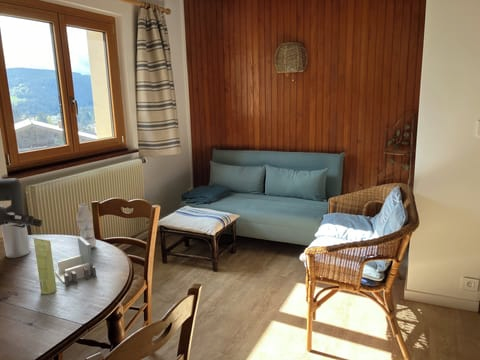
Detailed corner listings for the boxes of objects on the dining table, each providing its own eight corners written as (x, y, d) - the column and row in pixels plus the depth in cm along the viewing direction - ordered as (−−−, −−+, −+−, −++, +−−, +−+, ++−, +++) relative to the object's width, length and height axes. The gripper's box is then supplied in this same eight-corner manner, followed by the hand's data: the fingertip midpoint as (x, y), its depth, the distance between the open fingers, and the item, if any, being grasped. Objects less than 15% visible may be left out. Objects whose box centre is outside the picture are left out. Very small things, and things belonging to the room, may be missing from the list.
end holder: (55, 273, 151) (50, 243, 148) (84, 264, 158) (80, 236, 155) (63, 283, 143) (58, 252, 140) (94, 273, 149) (90, 244, 146)
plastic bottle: (91, 251, 170) (85, 207, 165) (77, 250, 171) (71, 206, 166) (99, 245, 176) (94, 202, 171) (85, 244, 177) (80, 202, 173)
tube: (59, 286, 141) (51, 235, 136) (58, 292, 136) (50, 240, 131) (41, 289, 139) (33, 237, 134) (40, 296, 134) (31, 243, 130)
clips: (65, 284, 142) (63, 274, 141) (94, 274, 149) (93, 265, 148) (66, 286, 140) (65, 276, 139) (96, 276, 147) (95, 267, 146)
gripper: (0, 200, 116) (48, 212, 129) (-27, 203, 122) (22, 214, 136) (-6, 225, 114) (44, 234, 127) (-33, 227, 120) (17, 236, 134)
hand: (32, 224), depth 131 cm, fingers open, 8 cm apart
